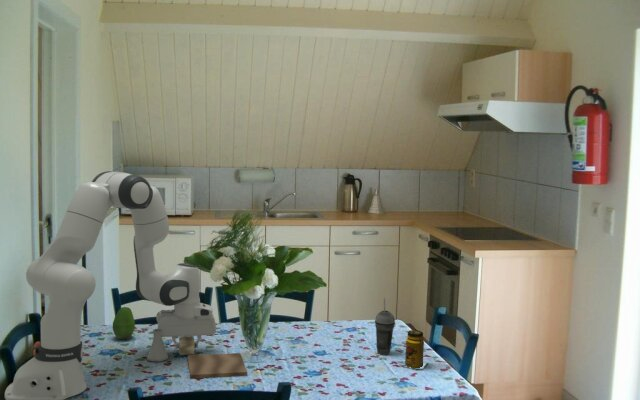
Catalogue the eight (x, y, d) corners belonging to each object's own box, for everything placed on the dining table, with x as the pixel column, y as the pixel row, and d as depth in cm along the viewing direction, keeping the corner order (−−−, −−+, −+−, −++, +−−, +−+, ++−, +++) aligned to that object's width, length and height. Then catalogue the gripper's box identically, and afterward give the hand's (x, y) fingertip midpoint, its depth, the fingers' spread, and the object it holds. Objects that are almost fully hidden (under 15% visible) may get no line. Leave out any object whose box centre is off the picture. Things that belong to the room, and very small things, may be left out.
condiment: (401, 367, 234) (402, 332, 232) (408, 359, 241) (410, 326, 240) (421, 371, 231) (423, 336, 229) (428, 363, 238) (430, 329, 237)
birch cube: (179, 354, 238) (179, 340, 238) (179, 350, 243) (179, 336, 243) (194, 354, 239) (194, 340, 239) (193, 349, 244) (193, 335, 244)
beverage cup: (378, 357, 242) (381, 302, 240) (369, 350, 249) (372, 297, 247) (397, 355, 245) (399, 300, 243) (387, 349, 252) (390, 295, 249)
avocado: (139, 338, 255) (139, 306, 253) (123, 343, 248) (123, 311, 247) (123, 334, 259) (123, 302, 257) (107, 339, 252) (107, 307, 251)
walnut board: (190, 378, 217) (190, 374, 217) (187, 359, 235) (187, 355, 234) (247, 375, 221) (247, 371, 221) (240, 356, 239) (240, 353, 239)
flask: (162, 363, 230) (162, 334, 229) (142, 361, 231) (142, 332, 230) (171, 356, 237) (171, 328, 236) (152, 354, 238) (152, 326, 237)
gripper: (156, 312, 234) (156, 352, 236) (216, 310, 239) (216, 349, 240) (156, 307, 240) (156, 346, 242) (215, 305, 245) (214, 343, 247)
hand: (186, 347), depth 241 cm, fingers closed on birch cube, 5 cm apart
